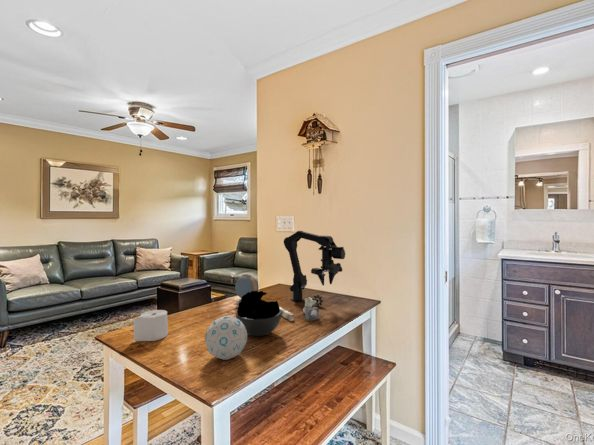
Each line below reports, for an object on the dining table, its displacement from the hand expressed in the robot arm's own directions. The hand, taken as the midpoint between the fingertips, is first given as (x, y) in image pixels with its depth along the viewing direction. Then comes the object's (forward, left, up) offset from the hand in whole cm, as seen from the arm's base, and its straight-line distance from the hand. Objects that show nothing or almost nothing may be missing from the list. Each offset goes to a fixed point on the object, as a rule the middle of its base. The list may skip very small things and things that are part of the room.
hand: (326, 284), depth 175 cm
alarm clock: (-28, -38, -12) cm, 49 cm away
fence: (+2, -30, -12) cm, 32 cm away
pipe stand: (+13, -20, -12) cm, 27 cm away
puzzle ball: (+31, -70, -12) cm, 77 cm away
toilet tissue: (-4, -91, -12) cm, 92 cm away
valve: (0, -10, -12) cm, 16 cm away
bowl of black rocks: (+18, -51, -12) cm, 55 cm away
